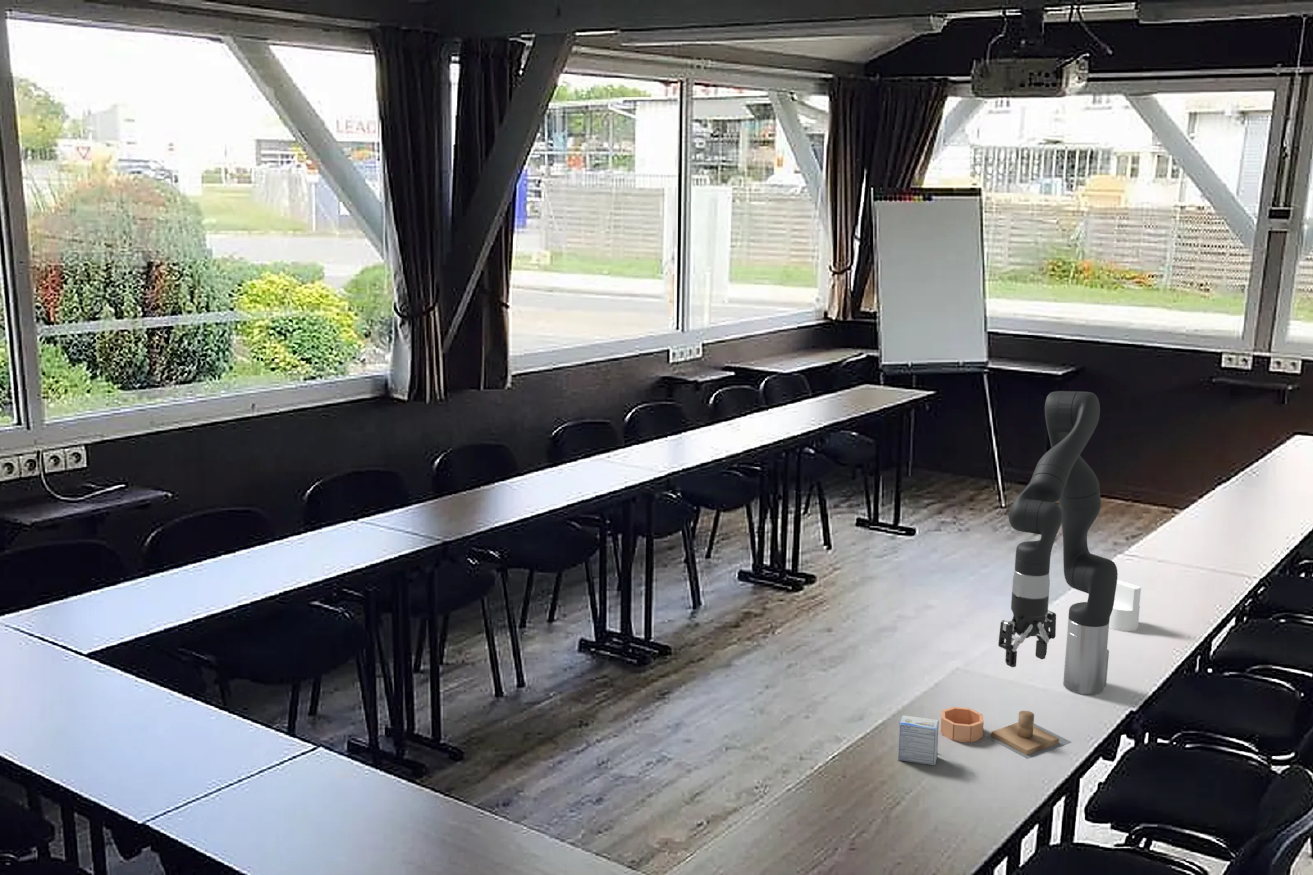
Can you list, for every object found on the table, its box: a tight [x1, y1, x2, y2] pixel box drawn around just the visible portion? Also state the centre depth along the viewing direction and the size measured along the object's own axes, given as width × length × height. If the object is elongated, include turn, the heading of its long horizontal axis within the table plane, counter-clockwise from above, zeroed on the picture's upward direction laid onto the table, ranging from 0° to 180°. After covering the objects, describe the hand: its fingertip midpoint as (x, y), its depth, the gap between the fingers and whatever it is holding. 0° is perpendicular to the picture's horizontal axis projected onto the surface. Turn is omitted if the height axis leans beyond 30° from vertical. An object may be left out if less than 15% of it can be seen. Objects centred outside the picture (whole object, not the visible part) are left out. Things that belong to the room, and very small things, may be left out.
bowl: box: [940, 706, 984, 743], centre depth 264 cm, size 9×9×4 cm
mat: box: [984, 723, 1072, 759], centre depth 261 cm, size 14×12×1 cm
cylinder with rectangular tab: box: [1109, 579, 1142, 632], centre depth 325 cm, size 9×9×12 cm
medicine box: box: [897, 714, 940, 766], centre depth 253 cm, size 8×4×9 cm, turn 71°
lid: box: [990, 710, 1059, 755], centre depth 260 cm, size 10×10×6 cm
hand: (1025, 661), depth 257 cm, fingers open, 8 cm apart
